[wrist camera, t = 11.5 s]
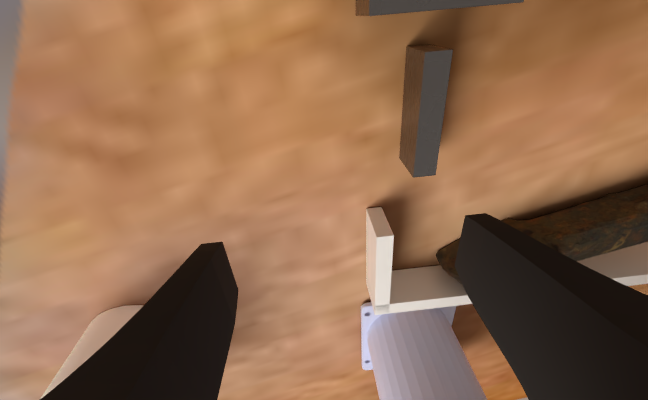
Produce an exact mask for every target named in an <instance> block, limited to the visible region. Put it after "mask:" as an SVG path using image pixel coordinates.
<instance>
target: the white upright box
mask: <svg viewBox="0 0 648 400" xmlns="http://www.w3.org/2000/svg"><path fill="white" fill-rule="evenodd" d="M143 306H144V305H126V306H121V307H116V308H111V309H109V310H107V311H105V312H103V313H100V314H99V315H98V316H97V317H96V318H95V319H93V320H92V321H91V323H90V324H89V326H88V327H87V329H86V330H85V332H84V333H83V335H82V336H81V338H80V339H79V341H78V342H77V344H76V346H75V347H74V349H73V350H72V352H71V353H70V355H69V356H68V358H67V359H66V361H65V362H64V364H63V365H62V367H61V368H60V370H59V371H58V373H57V374H56V376H55V377H54V379H53V380H52V382H51V383H50V385H49V386H48V388H47V389H46V391H45V392H44V394H43V395H42V397H41V398H43V397H44V396H45V395H46V394H48V393H49V392H50V391H51V390H53V389H54V388H55V387H56V386H57V385H59V384H60V383H61V382H62V381H63V380H64V379H66V378H67V377H68V376H69V375H70V374H71V373H72V372H74V371H75V370H76V369H77V368H78V367H79V366H81V365H82V364H83V363H84V362H85V361H86V360H87V359H89V358H90V357H91V356H92V355H93V354H94V353H95V352H96V351H97V350H99V349H100V348H101V347H102V346H103V345H104V344H105V343H106V342H107V341H108V340H109V339H110V338H112V337H113V336H114V335H115V334H116V333H117V332H118V331H119V330H120V329H121V328H122V327H123V326H124V325H125V324H126V323H127V322H128V321H129V320H130V319H131V318H132V317H133V316H134V315H135V314H136V313H137V312H138V311H139V310H140V309H141V308H142V307H143ZM41 398H40V399H41Z"/></svg>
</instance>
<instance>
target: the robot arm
mask: <svg viewBox="0 0 648 400" xmlns="http://www.w3.org/2000/svg"><path fill="white" fill-rule="evenodd" d="M455 268H456V271H457V273H458V275H459V278H460V280H461V282H462V285H463V287H464V289H465V291H466V293H467V295H468V297H469V299H470V301H471V302H472V304H473V306H474V307H475V309H476V311H477V312H478V314H479V316H480V317H481V319H482V320H483V322H484V324H485V325H486V327H487V329H488V330H489V332H490V333H491V335H492V337H493V338H494V340H495V342H496V343H497V345H498V346H499V348H500V350H501V351H502V353H503V355H504V356H505V358H506V359H507V361H508V363H509V364H510V366H511V368H512V369H513V371H514V373H515V375H516V376H517V378H518V380H519V382H520V383H521V385H522V387H523V389H524V391H525V393H526V395H527V397H528V399H529V400H648V295H645V294H643V293H641V292H639V291H636V290H634V289H632V288H630V287H628V286H626V285H623V284H621V283H619V282H617V281H615V280H613V279H611V278H609V277H607V276H605V275H603V274H601V273H599V272H597V271H595V270H593V269H590V268H588V267H587V266H585V265H583V264H581V263H579V262H577V261H575V260H573V259H571V258H569V257H567V256H565V255H563V254H561V253H560V252H558V251H556V250H554V249H552V248H550V247H548V246H546V245H545V244H543V243H541V242H539V241H537V240H535V239H534V238H532V237H530V236H528V235H526V234H524V233H523V232H521V231H519V230H517V229H515V228H513V227H512V226H510V225H508V224H506V223H504V222H502V221H500V220H498V219H496V218H494V217H492V216H490V215H488V214H486V213H484V214H475V215H466V216H465V219H464V224H463V229H462V233H461V238H460V242H459V247H458V252H457V256H456V261H455ZM237 299H238V287H237V284H236V281H235V278H234V275H233V272H232V269H231V266H230V263H229V260H228V257H227V254H226V251H225V248H224V245H223V242H215V243H206V244H201V245H200V246H199V247H198V248H197V249H196V250H195V251H194V252H193V253H192V254H191V255H190V257H189V258H188V259H187V260H186V261H185V262H184V263H183V264H182V265H181V266H180V268H179V269H178V270H177V271H176V272H175V273H174V274H173V275H172V276H171V277H170V279H169V280H168V281H167V282H166V283H165V284H164V285H163V286H162V287H161V288H160V289H159V290H158V291H157V292H156V293H155V295H154V296H153V297H152V298H151V299H150V300H149V301H148V302H147V303H146V304H145V305H144V306H143V307H142V308H141V309H140V310H139V311H138V312H137V313H136V314H135V315H134V316H133V317H132V318H131V319H130V320H129V321H128V322H127V323H126V324H125V325H124V326H123V327H122V328H121V329H120V330H119V331H118V332H117V333H116V334H115V335H114V336H113V337H112V338H110V339H109V340H108V341H107V342H106V343H105V344H104V345H103V346H102V347H101V348H100V349H99V350H97V351H96V352H95V353H94V354H93V355H92V356H91V357H90V358H89V359H87V360H86V361H85V362H84V363H83V364H82V365H81V366H79V367H78V368H77V369H76V370H75V371H74V372H72V373H71V374H70V375H69V376H68V377H67V378H66V379H64V380H63V381H62V382H61V383H60V384H59V385H57V386H56V387H55V388H54V389H53V390H51V391H50V392H49V393H48V394H46V395H45V396H44V397H43V398H41V399H40V400H217V398H218V394H219V389H220V385H221V381H222V377H223V372H224V368H225V364H226V360H227V355H228V351H229V347H230V342H231V338H232V334H233V329H234V325H235V318H236V309H237ZM455 310H456V306H450V307H441V308H433V309H424V310H415V311H407V312H398V313H389V314H381V315H375V314H374V310H373V306H372V302H369V303H364V304H363V305H362V306H361V352H362V368H363V369H364V370H372V369H373V371H374V375H375V380H376V385H377V389H378V394H379V399H380V400H487V398H486V396H485V394H484V392H483V390H482V388H481V386H480V384H479V382H478V380H477V378H476V376H475V374H474V372H473V370H472V368H471V366H470V364H469V362H468V360H467V358H466V356H465V354H464V352H463V349H462V347H461V345H460V343H459V341H458V339H457V337H456V335H455V333H454V331H453V329H452V323H453V318H454V314H455Z"/></svg>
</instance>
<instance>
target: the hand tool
mask: <svg viewBox="0 0 648 400" xmlns="http://www.w3.org/2000/svg"><path fill="white" fill-rule="evenodd" d="M501 221H502V222H504V223H506V224H508V225H510V226H512V227H513V228H515V229H517V230H519V231H521V232H523V233H524V234H526V235H528V236H530V237H532V238H534V239H535V240H537V241H539V242H541V243H543V244H545V245H546V246H548V247H550V248H552V249H554V250H556V251H558V252H560V253H561V254H563V255H565V256H567V257H569V258H571V259H573V260H575V261H580V260H584V259H587V258H590V257H594V256H598V255H602V254H605V253H609V252H613V251H616V250H620V249H623V248H627V247H630V246H634V245H638V244H641V243H644V242H647V241H648V184H647V185H643V186H640V187H637V188H634V189H631V190H627V191H624V192H620V193H617V194H615V193H612V194H607V195H606V196H605V197H602V198H600V199H597V200H593V201H590V202H585V203H581V204H579V205H577V206H574V207H571V208H567V209H564V210H560V211H557V212H554V213H551V214H548V215H544V216H541V217H537V218H534V219H530V220H517V221H516V220H514V219H511V218H507V219H504V220H501ZM459 242H460V239H458V240H457V241H455V242H453V243H451V244H450V245H448V246H446V247H445V248H443V249H441V250H439V251H438V252H437V254H436V257H437V259H438V261H439V263H440V264H441V266H442V268H443V269H444V270H445V271H446V272H447V274H448V275H449V276H451V277H453V278H455V279H456V280H457V281H458V282H459V283H461V284H462V282H461V280H460V278H459V275H458V273H457V271H456V268H455V261H456V256H457V252H458V247H459Z"/></svg>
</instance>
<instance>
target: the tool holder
mask: <svg viewBox="0 0 648 400" xmlns="http://www.w3.org/2000/svg"><path fill="white" fill-rule="evenodd" d="M523 1H524V0H356V16H375V15H386V14H397V13H408V12H420V11H431V10H442V9H453V8H464V7H476V6H487V5H498V4H509V3H520V2H523ZM452 52H453V49H448V48H444V47H440V46H435V45H431V44H430V45H419V46H408V47H407V49H406V64H405V80H404V95H403V111H402V126H401V141H400V157H399V158H400V160H401V161H402V162H403V164H404V165H405V167H406V168H407V170H408V171H409V172H410V174H411V175H412V177H422V176H432V175H436V168H437V160H438V153H439V146H440V139H441V132H442V124H443V117H444V110H445V103H446V96H447V88H448V81H449V74H450V67H451V60H452Z"/></svg>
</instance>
